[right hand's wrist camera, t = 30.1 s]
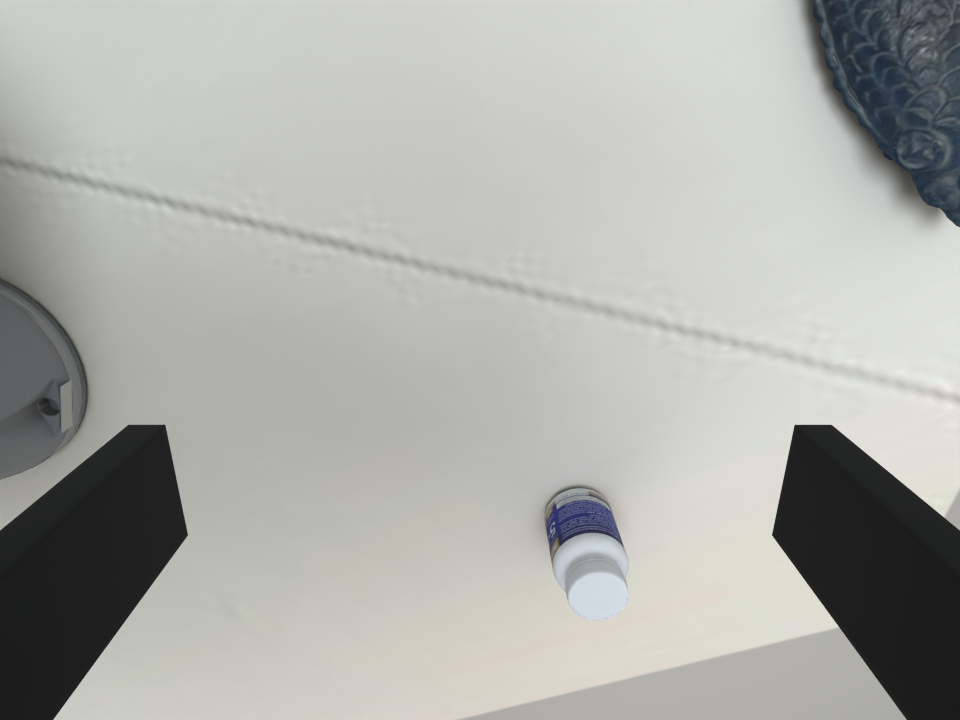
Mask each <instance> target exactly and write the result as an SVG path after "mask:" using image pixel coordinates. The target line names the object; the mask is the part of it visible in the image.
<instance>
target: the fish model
mask: <svg viewBox="0 0 960 720" xmlns="http://www.w3.org/2000/svg"><path fill="white" fill-rule="evenodd" d="M813 7H814V17H815V18H816V19H817V21H818V23H819V28H820V34H819V37H820V39H821V41H822V43H823V44H824V46H825V47H826V51H825V58H826V62H827V66H828V67H829V69H830V70H831V71H832V72H833V74H834V80H833V85H834V87H835V88H836V89H837V90H838V91H839V92H840V93H841V94H842V96H843V99H844V103H845V105H846V106H847V107H848V108H849V109H850V110H851V111H853V112H854V113H856V115H857V116H858V121H859V123H860V125H861V126H863V127H864V128H865V129H866V130H867V131H868V132H869V133H870V134H871V135H872V136H873V137H874V138H875V140H876V142H877V143H878V145H879V146H878V147H879V148H880V149H882V150H883V153H884V155H885V157H886V158H888V159H889V160H894V161H895V162H896V163H897V164H898V165H900V166H901V167H902V168H904V169H905V170H907V171H908V172H909V173H910V174H911V176H912V178H913V180H914V182H915V184H916V187H917V190H918V192H919V195H920V196H921V197H922V199H923V201H925V202H926V203H927V204H928V205H931V206H934V207H937V208H940V209H941V210H942V211H943V212H944V213H945V214H946V216H947V218H948V219H950V220H951V221H952V222H953V223H954V224H955V225H956V226H958V227H960V0H814V4H813Z"/></svg>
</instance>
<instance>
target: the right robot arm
mask: <svg viewBox="0 0 960 720" xmlns="http://www.w3.org/2000/svg"><path fill="white" fill-rule="evenodd" d="M85 405H86V384H85V378H84V373H83V370H82V366H81V363H80V361H79V358H78V356H77V353H76V351H75V349H74V347H73V345H72V344H71V342H70V340H69V338H68V337H67V336H66V334H65V333H64V331H63V330H62V328H61V327H60V326H59V325H58V324H57V322H56V321H55V320H54V319H53V318H52V317H51V316H50V315H49V314H48V313H47V312H46V311H45V310H44V309H43V308H42V307H41V306H40V305H39V304H38V303H36V302H35V301H34V300H33V299H31V298H30V297H29V296H27V295H26V294H24V293H23V292H21V291H20V290H18V289H17V288H15V287H13V286H11V285H9V284H7V283H6V282H3V281H1V280H0V479H3V478H6V477H9V476H13V475H16V474H19V473H21V472H24V471H26V470H28V469H30V468H32V467H35V466H37V465H38V464H40V463H42V462H43V461H45V460H46V459H48V458H49V457H50V456H52V455H53V454H54V453H56V452H57V451H58V450H60V449H61V448H62V447H63V446H64V445H65V444H67V443H68V442H69V440H70V439H71V438H72V437H73V435H74V434H75V432H76V431H77V429H78V427H79V425H80V423H81V421H82V418H83V414H84V410H85ZM187 536H188V533H187V529H186V524H185V519H184V514H183V509H182V504H181V499H180V494H179V490H178V485H177V480H176V475H175V470H174V465H173V460H172V455H171V451H170V446H169V441H168V436H167V431H166V426H165V425H128V426H127V427H125V428H124V429H123V430H122V431H121V432H119V433H118V434H117V435H116V436H114V437H113V438H112V439H111V440H110V441H108V442H107V443H106V444H105V445H104V446H102V447H101V448H100V449H99V450H97V451H96V452H95V453H94V454H93V455H91V456H90V457H89V458H88V459H87V460H85V461H84V462H83V463H82V464H80V465H79V466H78V467H77V468H76V469H74V470H73V471H72V472H71V473H70V474H68V475H67V476H66V477H65V478H64V479H62V480H61V481H60V482H59V483H57V484H56V485H55V486H54V487H53V488H51V489H50V490H49V491H48V492H47V493H45V494H44V495H43V496H42V497H40V498H39V499H38V500H37V501H36V502H34V503H33V504H32V505H31V506H30V507H28V508H27V509H26V510H25V511H23V512H22V513H21V514H20V515H19V516H17V517H16V518H15V519H14V520H13V521H11V522H10V523H9V524H8V525H6V526H5V527H4V528H3V529H2V530H0V720H53V719H54V718H55V716H56V715H57V714H58V712H59V711H60V710H61V708H62V707H63V705H64V704H65V703H66V701H67V700H68V699H69V697H70V696H71V695H72V693H73V692H74V690H75V689H76V688H77V686H78V685H79V684H80V682H81V681H82V679H83V678H84V677H85V675H86V674H87V673H88V671H89V670H90V668H91V667H92V666H93V664H94V663H95V662H96V660H97V659H98V658H99V656H100V655H101V653H102V652H103V651H104V649H105V648H106V647H107V645H108V644H109V642H110V641H111V640H112V638H113V637H114V636H115V634H116V633H117V632H118V630H119V629H120V627H121V626H122V625H123V623H124V622H125V621H126V619H127V618H128V616H129V615H130V614H131V612H132V611H133V610H134V608H135V607H136V605H137V604H138V603H139V601H140V600H141V599H142V597H143V596H144V595H145V593H146V592H147V590H148V589H149V588H150V586H151V585H152V584H153V582H154V581H155V579H156V578H157V577H158V575H159V574H160V573H161V571H162V570H163V569H164V567H165V566H166V564H167V563H168V562H169V560H170V559H171V558H172V556H173V555H174V553H175V552H176V551H177V549H178V548H179V547H180V545H181V544H182V543H183V541H184V540H185V538H186V537H187ZM772 536H773V537H774V538H775V540H776V541H777V543H778V544H779V545H780V547H781V548H782V549H783V551H784V552H785V553H786V555H787V556H788V558H789V559H790V560H791V562H792V563H793V564H794V566H795V567H796V569H797V570H798V571H799V573H800V574H801V575H802V577H803V578H804V579H805V581H806V582H807V584H808V585H809V586H810V588H811V589H812V590H813V592H814V593H815V595H816V596H817V597H818V599H819V600H820V601H821V603H822V604H823V605H824V607H825V608H826V610H827V611H828V612H829V614H830V615H831V616H832V618H833V619H834V621H835V622H836V623H837V625H838V626H839V627H840V629H841V630H842V632H843V633H844V634H845V636H846V637H847V638H848V640H849V641H850V642H851V644H852V645H853V647H854V648H855V649H856V651H857V652H858V653H859V655H860V656H861V658H862V659H863V660H864V662H865V663H866V664H867V666H868V667H869V668H870V670H871V671H872V672H873V674H874V675H875V677H876V678H877V679H878V681H879V682H880V684H881V685H882V686H883V688H884V689H885V690H886V692H887V693H888V694H889V696H890V697H891V699H892V700H893V701H894V703H895V704H896V705H897V707H898V708H899V710H900V711H901V712H902V714H903V715H904V716H905V718H906V719H907V720H960V530H958V529H957V528H956V527H955V526H953V525H952V524H951V523H950V522H949V521H947V520H946V519H945V518H944V517H943V516H941V515H940V514H939V513H938V512H937V511H935V510H934V509H933V508H932V507H930V506H929V505H928V504H927V503H926V502H924V501H923V500H922V499H921V498H920V497H918V496H917V495H916V494H915V493H913V492H912V491H911V490H910V489H909V488H907V487H906V486H905V485H904V484H903V483H901V482H900V481H899V480H898V479H896V478H895V477H894V476H893V475H892V474H890V473H889V472H888V471H887V470H886V469H884V468H883V467H882V466H881V465H880V464H878V463H877V462H876V461H875V460H873V459H872V458H871V457H870V456H869V455H867V454H866V453H865V452H864V451H863V450H861V449H860V448H859V447H858V446H856V445H855V444H854V443H853V442H852V441H850V440H849V439H848V438H847V437H846V436H844V435H843V434H842V433H841V432H839V431H838V430H837V429H836V428H835V427H833V426H832V425H795V426H794V431H793V436H792V441H791V446H790V451H789V455H788V460H787V465H786V470H785V475H784V480H783V485H782V490H781V494H780V499H779V504H778V509H777V514H776V519H775V524H774V529H773V533H772Z"/></svg>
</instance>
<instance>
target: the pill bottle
mask: <svg viewBox="0 0 960 720" xmlns="http://www.w3.org/2000/svg"><path fill="white" fill-rule="evenodd" d="M545 525H546V531H547V537H548V543H549V548H550V555H551V561H552V567H553V572H554V576H555V579H556V581H557V582H558V584H559V585H560V587H561V588H562V589H563V590H564V591H566V594H567V598H568V602H569V605H570V607H571V608H572V610H573V611H574V612H575V613H576V614H577V615H579V616H581V617H583V618H585V619H589V620H603V619H607V618H610V617H613V616H614V615H616V614H618V613H619V612H620V611H621V610H622V609H623V608H624V607H625V605H626V603H627V601H628V597H629V591H628V587H627V583H626V580H625V578H626V576H627V573H628V557H627V554H626V551H625V548H624V546H623V543H622V540H621V537H620V534H619V531H618V528H617V525H616V523H615V519H614V516H613V513H612V510H611V507H610V505H609V503H608V502H607V500H606V499H605V498H604V497H603V496H602V495H600V494H599V493H597V492H595V491H593V490H590V489H584V488H576V489H570V490H567V491H564V492H562V493H560V494H559V495H557V496H556V497H555V498H554V499H553V500H552V501H551V502H550V504H549V505H548V507H547V509H546V513H545Z"/></svg>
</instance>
